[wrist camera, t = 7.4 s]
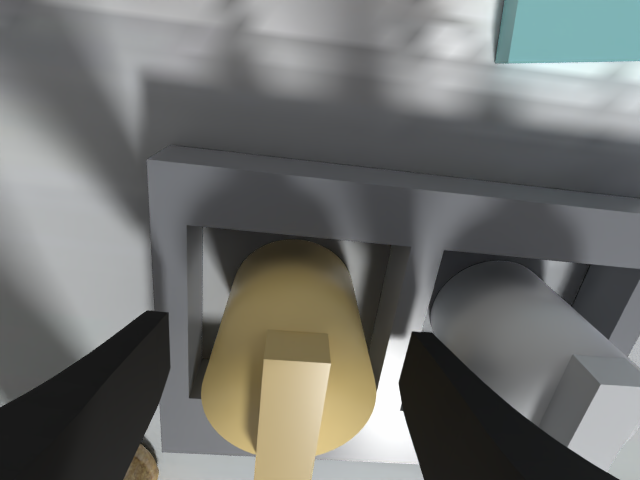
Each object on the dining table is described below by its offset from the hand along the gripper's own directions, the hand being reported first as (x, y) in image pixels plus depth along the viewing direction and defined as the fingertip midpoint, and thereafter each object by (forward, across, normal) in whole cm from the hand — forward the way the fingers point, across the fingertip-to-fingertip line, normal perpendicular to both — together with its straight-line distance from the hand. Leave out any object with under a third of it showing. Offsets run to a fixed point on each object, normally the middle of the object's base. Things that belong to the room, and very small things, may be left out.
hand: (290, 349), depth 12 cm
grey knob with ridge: (+3, -8, 0) cm, 8 cm away
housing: (+3, -4, 0) cm, 5 cm away
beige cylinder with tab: (+3, 0, 0) cm, 3 cm away
